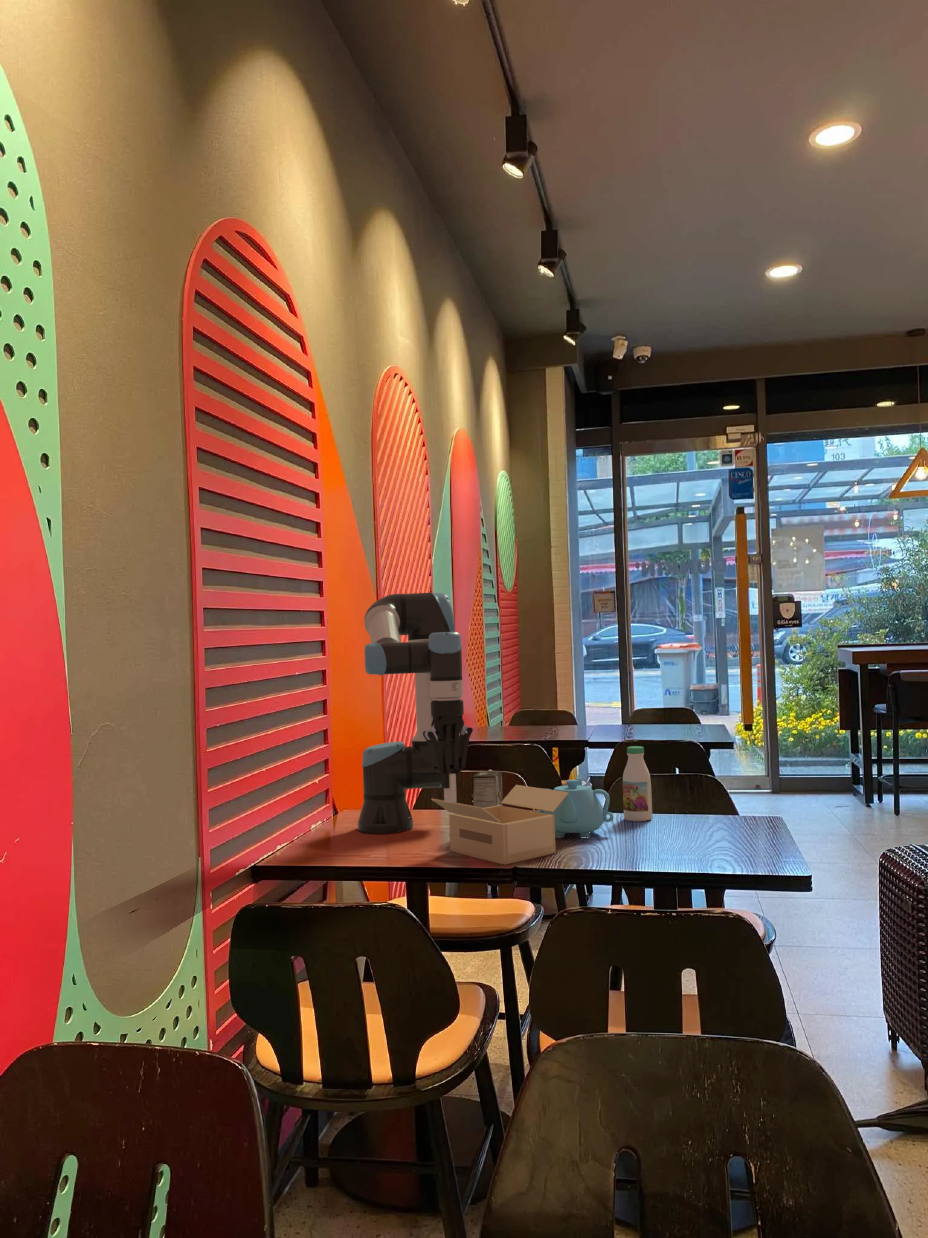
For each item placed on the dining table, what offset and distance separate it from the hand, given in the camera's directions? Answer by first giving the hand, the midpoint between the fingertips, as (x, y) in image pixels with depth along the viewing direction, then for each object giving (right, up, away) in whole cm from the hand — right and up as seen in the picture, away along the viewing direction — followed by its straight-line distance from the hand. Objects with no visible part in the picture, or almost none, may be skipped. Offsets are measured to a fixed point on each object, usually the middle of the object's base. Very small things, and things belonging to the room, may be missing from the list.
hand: (450, 802), depth 217 cm
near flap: (+6, -4, +4) cm, 8 cm away
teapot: (+32, -14, +26) cm, 43 cm away
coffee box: (+10, -15, +30) cm, 35 cm away
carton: (+12, -14, +9) cm, 20 cm away
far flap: (+18, -4, +14) cm, 23 cm away
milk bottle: (+51, -14, +44) cm, 69 cm away
